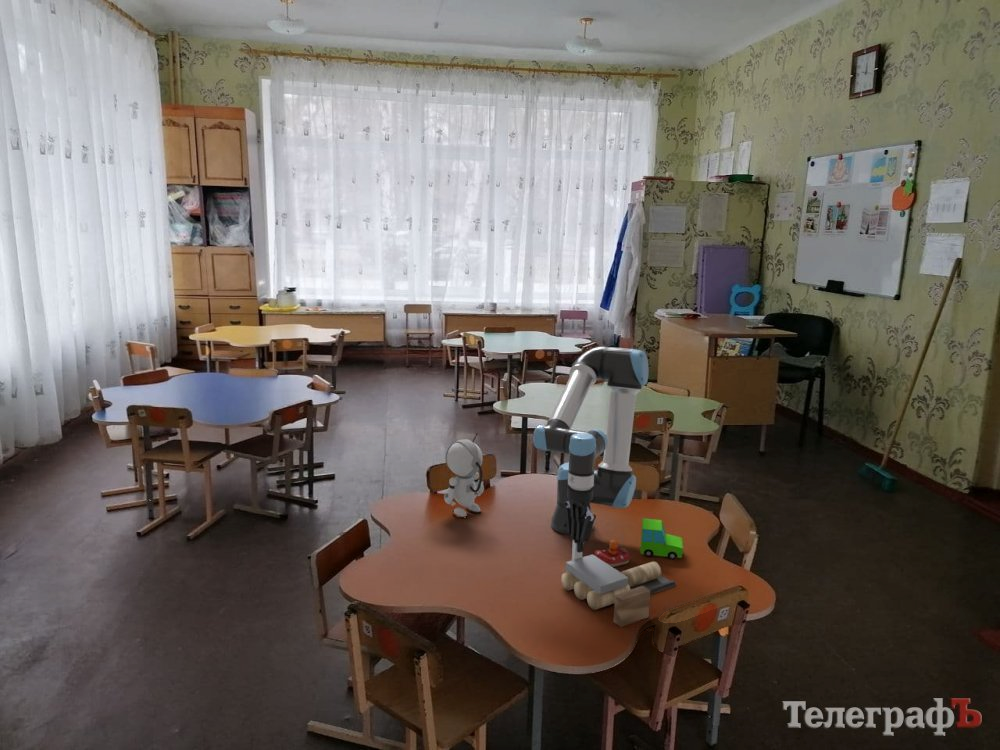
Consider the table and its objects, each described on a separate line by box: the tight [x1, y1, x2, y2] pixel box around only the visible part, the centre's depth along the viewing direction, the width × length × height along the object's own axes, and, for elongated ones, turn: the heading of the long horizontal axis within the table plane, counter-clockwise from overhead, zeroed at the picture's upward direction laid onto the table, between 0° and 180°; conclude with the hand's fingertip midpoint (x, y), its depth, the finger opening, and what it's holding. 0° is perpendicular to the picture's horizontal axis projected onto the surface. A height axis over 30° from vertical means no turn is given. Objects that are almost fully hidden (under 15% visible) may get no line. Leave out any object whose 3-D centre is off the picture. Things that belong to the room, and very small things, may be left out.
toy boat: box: [594, 539, 631, 568], centre depth 224 cm, size 8×12×8 cm, turn 116°
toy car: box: [640, 518, 684, 561], centre depth 231 cm, size 10×13×10 cm
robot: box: [443, 432, 484, 517], centre depth 258 cm, size 14×13×29 cm
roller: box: [620, 561, 662, 587], centre depth 212 cm, size 12×5×5 cm, turn 122°
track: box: [561, 571, 677, 628], centre depth 206 cm, size 26×30×8 cm
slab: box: [565, 553, 628, 595], centre depth 205 cm, size 16×10×2 cm, turn 32°
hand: (576, 560), depth 212 cm, fingers closed
